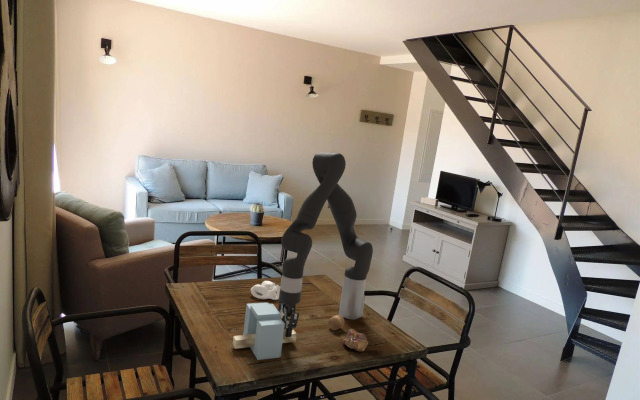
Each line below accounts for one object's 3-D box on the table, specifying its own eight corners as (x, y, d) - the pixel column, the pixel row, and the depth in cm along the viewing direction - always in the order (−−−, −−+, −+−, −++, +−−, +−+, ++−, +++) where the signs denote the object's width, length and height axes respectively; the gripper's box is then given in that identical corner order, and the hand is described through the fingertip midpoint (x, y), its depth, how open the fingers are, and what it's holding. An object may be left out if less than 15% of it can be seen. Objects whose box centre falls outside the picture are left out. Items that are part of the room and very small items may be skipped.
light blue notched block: (264, 333, 164) (268, 298, 162) (280, 357, 149) (285, 319, 147) (243, 335, 160) (247, 299, 158) (257, 359, 145) (262, 321, 143)
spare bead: (332, 324, 178) (334, 312, 178) (343, 329, 176) (345, 317, 175) (327, 327, 175) (329, 315, 174) (338, 332, 172) (339, 320, 172)
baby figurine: (247, 296, 195) (252, 277, 199) (271, 305, 201) (276, 286, 205) (257, 295, 188) (262, 275, 192) (282, 304, 194) (286, 284, 198)
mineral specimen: (333, 336, 165) (342, 320, 166) (345, 343, 169) (354, 327, 171) (354, 352, 155) (364, 334, 157) (366, 358, 160) (376, 341, 161)
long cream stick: (292, 337, 161) (293, 329, 161) (295, 341, 158) (296, 333, 158) (232, 344, 151) (233, 336, 151) (235, 348, 148) (235, 340, 148)
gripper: (309, 295, 150) (302, 342, 153) (293, 279, 163) (287, 323, 166) (288, 296, 147) (282, 344, 150) (273, 280, 159) (268, 324, 162)
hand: (285, 332), depth 158 cm, fingers open, 5 cm apart
